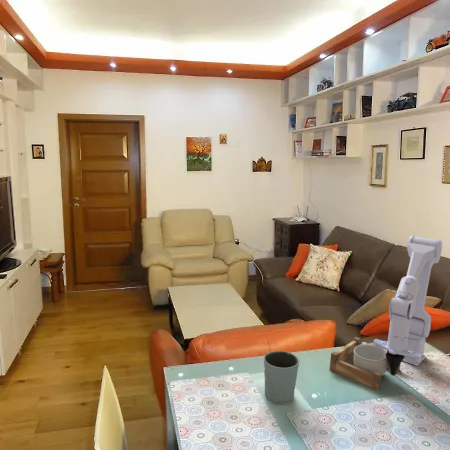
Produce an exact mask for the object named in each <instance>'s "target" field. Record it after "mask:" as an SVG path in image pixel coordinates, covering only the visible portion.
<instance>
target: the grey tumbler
mask: <svg viewBox="0 0 450 450" xmlns="http://www.w3.org/2000/svg"><path fill="white" fill-rule="evenodd" d="M299 362H300V359H299V358H298V356H297V355H296V354H294V353H291V352H290V351H284V350H273V351H269V352H267V353H266V354H265V355H264V356H263V366H264V371H263V372H264V396H265V398H266V399H267V401H269V402H271V403H273V404H276V405H286V404H290V403H291V402H292V401H293V400H294V397H295V389H296V386H297V385H296V383H297V378H298V377H297V376H298V370H299V364H300V363H299Z"/></svg>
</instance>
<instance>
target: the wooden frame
mask: <svg viewBox="0 0 450 450" xmlns="http://www.w3.org/2000/svg"><path fill="white" fill-rule="evenodd" d="M358 345H361V338H360V337H357V336H355V337H353V339H352V340H351V341H350V342H349V343H347V344H346V345H344V346H343V347H342V348H340V349H339V350H337V351H332V352H331V353H330V360H329V361H330V362H329V371H332V372H334V373H337V374H339V375H342V376H344V377H346V378H349V379H351V380H353V381H356V382H357V383H360V384H363V385H366V386H367V387H369V388H371V389H373V390H375V391H379V390H380V388H381V383H382V382H381V381H382V376H383V375H382V373H379V372H377V371H376V372H375V373H374V374H373V373H370V372H368V371H365V370H363V369H360V368H358V367H355V366H354V364H350V363H348V362H349V361H350V360H351V359H354V348H355V347H356V346H358ZM388 368H389V369H390V366H389V363H388V364H387V369H388ZM400 369H401V364H400V365H399V368H398V370H397V372H399V371H400Z"/></svg>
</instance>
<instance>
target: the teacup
mask: <svg viewBox="0 0 450 450" xmlns="http://www.w3.org/2000/svg"><path fill="white" fill-rule="evenodd" d="M360 344H361V345H358V346H356V347H355V348H354V357H353V366H355V367H358V368H360V369H363V370H365V371H368V372H370V373H373V374H374V373H375V372H376V371H377V372H379V373H382V376H383V375H385V374H386V372H387V370H388V367H387V364H388V360H387V358H386V353H387V350H385V349H382V348H379V347H374V346H373V344H368V343H367V342H366V341H362V342H360Z"/></svg>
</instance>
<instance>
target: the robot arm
mask: <svg viewBox="0 0 450 450" xmlns="http://www.w3.org/2000/svg"><path fill="white" fill-rule="evenodd" d="M442 248H443V241H442V240H441V239H433V238H429V237H427V238H426V237H421V236H415V235H411V236H410V237H409V238H408V241H407V247H406V249H407V253H408V257H409V258H410V260H409V264H408V268H407V272H406V276H403V277H401V279H400V282H399V284H398V288H397V291H396V293H395V296H393V297H392V298H391V299H390V302H389V307H388V313H389V315H388V319H389V320H390V321H389V329H388V336H387V341H386V340H381V339H378V338H376V339H374V340H373V343H372V345H373V346H374V347H379V348H382V349H385V350H386V351H387V353H386V358H387V360H388V363H389V366H390V368H389V370H390V375H391V376H393V377H395V376H396V374H397V370H398V368H399V365H400V366H401V364H402V362H406V363H408V364H411V365H413V366H415V367H418V366H419V365H420V364H421V363H422V362H423V361H424V360H425V359H426V358H427V355H426V354H424V352H425V348H426V347H425V345H426V339H427V338H428V337H429V335H430V331H431V326H432V323H431V322H432V316H431V315H430V314H429V313H428V312H427V311H426V309H425V305H426V300H427V294H428V287H429V283H430V277H431V273H432V267H433V266H434V264H439V261H440V260H441V256H442V255H441V254H442Z"/></svg>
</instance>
